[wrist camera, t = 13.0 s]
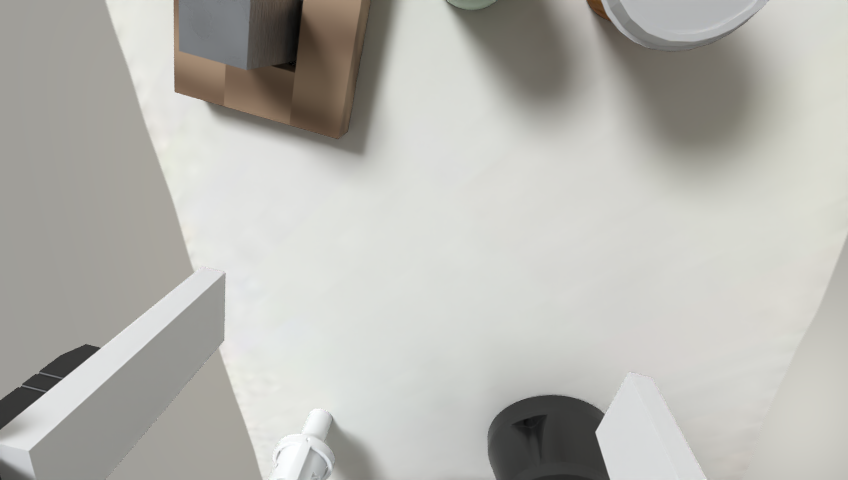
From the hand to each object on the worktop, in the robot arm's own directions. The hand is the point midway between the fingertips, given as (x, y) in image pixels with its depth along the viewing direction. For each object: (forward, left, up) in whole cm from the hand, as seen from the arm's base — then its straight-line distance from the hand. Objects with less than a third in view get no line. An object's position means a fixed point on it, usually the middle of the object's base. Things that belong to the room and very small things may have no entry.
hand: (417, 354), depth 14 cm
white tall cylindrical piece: (-38, +7, -27) cm, 47 cm away
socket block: (+6, +17, -27) cm, 32 cm away
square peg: (+6, +17, -27) cm, 32 cm away
